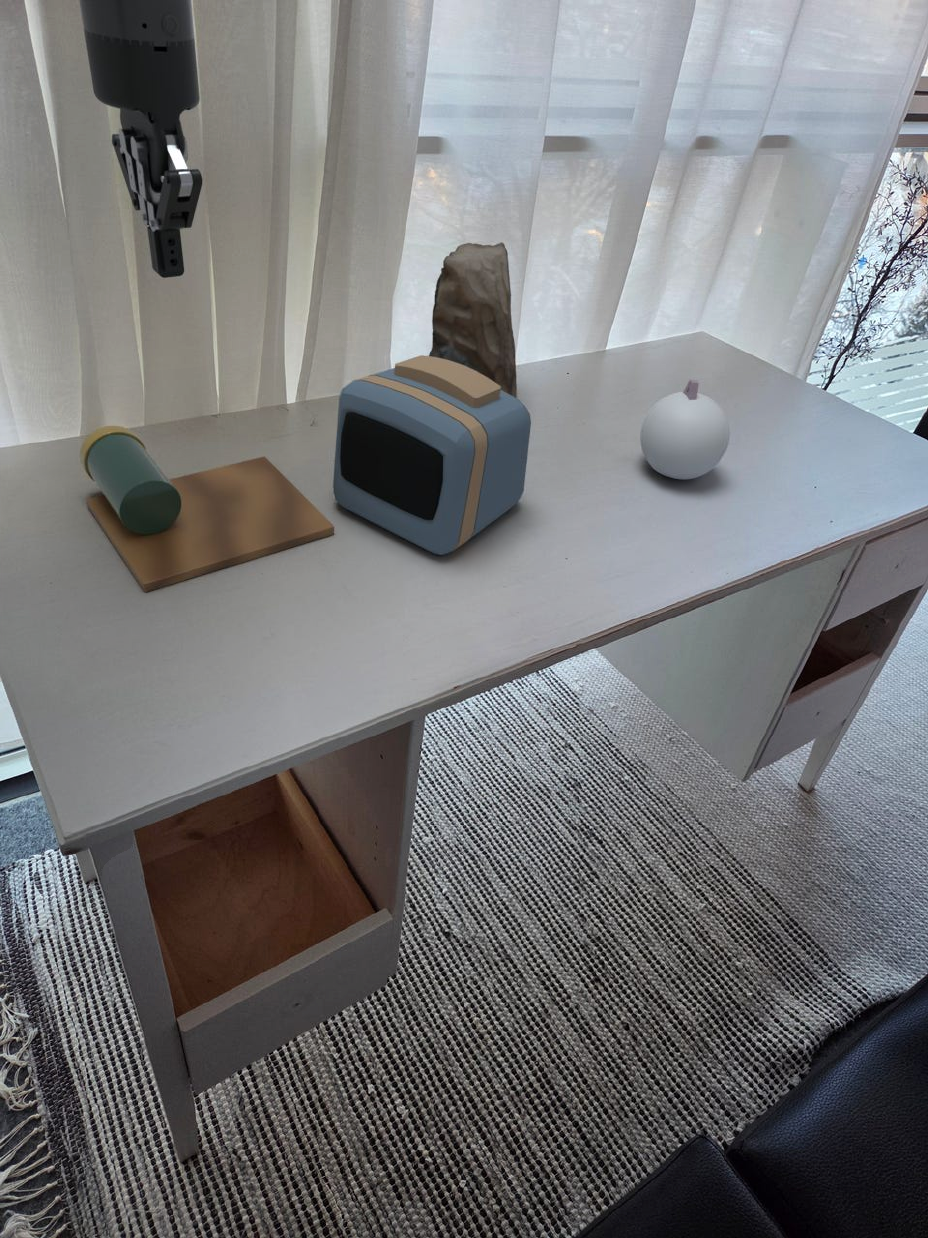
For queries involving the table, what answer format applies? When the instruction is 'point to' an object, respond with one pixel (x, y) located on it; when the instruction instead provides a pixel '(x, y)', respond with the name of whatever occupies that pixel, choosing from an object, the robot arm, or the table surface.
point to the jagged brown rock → (476, 313)
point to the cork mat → (217, 524)
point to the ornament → (685, 434)
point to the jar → (130, 480)
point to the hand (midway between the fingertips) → (169, 273)
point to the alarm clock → (430, 451)
